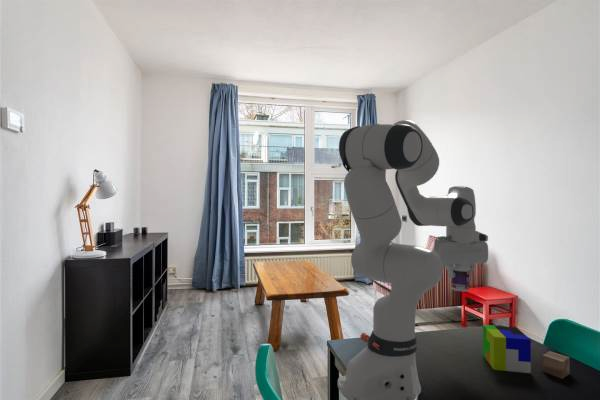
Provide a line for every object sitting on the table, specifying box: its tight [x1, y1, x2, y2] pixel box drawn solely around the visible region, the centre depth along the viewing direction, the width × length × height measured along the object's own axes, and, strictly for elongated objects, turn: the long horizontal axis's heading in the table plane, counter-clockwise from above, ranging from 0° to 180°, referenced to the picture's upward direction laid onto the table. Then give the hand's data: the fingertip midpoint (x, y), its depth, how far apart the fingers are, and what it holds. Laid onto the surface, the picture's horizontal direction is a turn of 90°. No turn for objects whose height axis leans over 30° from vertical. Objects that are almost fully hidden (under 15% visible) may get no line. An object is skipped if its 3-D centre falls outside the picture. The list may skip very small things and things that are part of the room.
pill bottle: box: [450, 261, 470, 292], centre depth 113 cm, size 5×5×10 cm
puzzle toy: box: [482, 324, 532, 374], centre depth 107 cm, size 10×10×10 cm
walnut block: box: [542, 350, 571, 380], centre depth 101 cm, size 5×5×5 cm
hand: (460, 277), depth 113 cm, fingers closed on pill bottle, 5 cm apart
